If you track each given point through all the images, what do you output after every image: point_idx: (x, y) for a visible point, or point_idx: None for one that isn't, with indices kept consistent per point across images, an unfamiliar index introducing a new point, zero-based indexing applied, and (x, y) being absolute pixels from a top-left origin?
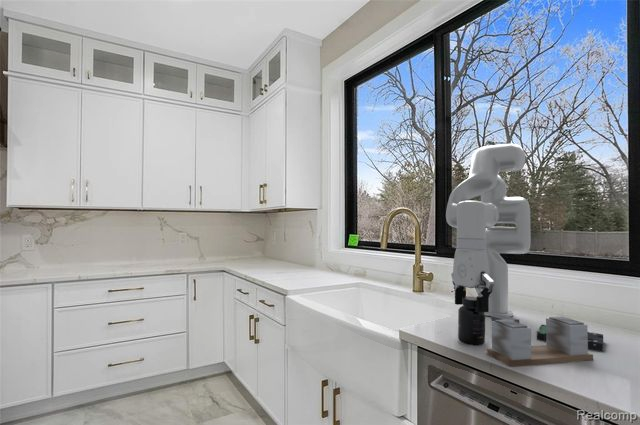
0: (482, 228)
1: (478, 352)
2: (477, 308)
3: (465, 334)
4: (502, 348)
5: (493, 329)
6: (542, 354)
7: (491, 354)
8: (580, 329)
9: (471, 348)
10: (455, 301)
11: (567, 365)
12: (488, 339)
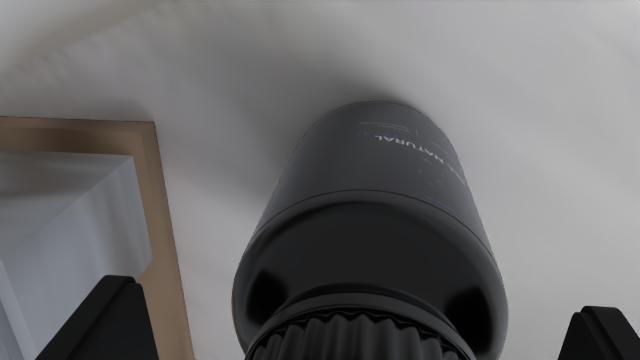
0: None
1: (183, 90)
2: (92, 298)
3: (327, 129)
4: (18, 167)
5: (26, 220)
6: None
7: (109, 124)
8: None
9: (255, 94)
10: (616, 330)
11: None
12: None
